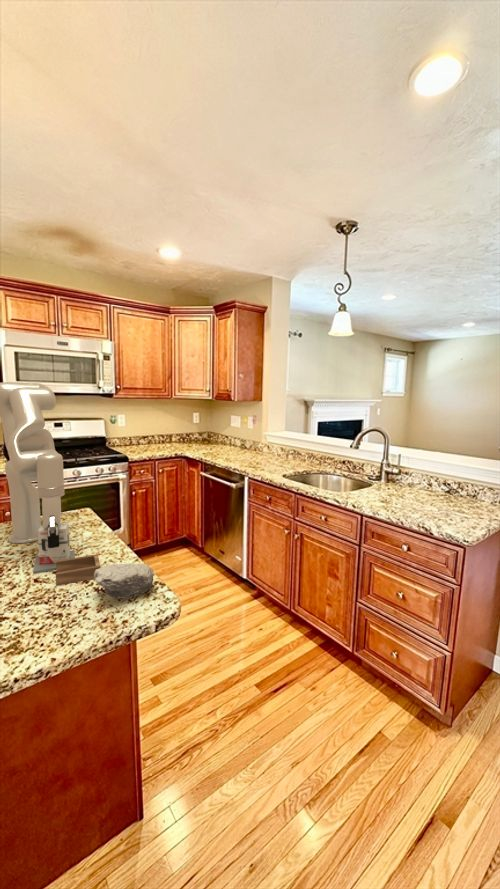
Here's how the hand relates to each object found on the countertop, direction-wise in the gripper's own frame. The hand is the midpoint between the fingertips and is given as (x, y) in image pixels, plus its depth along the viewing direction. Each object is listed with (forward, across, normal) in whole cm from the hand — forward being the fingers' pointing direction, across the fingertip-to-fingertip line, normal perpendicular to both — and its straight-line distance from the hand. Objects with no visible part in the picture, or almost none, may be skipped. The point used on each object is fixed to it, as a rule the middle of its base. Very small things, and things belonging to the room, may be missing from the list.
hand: (54, 541), depth 121 cm
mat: (+7, 0, 0) cm, 7 cm away
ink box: (+7, 0, 0) cm, 7 cm away
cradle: (+7, +12, +6) cm, 15 cm away
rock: (+7, +30, +18) cm, 35 cm away
